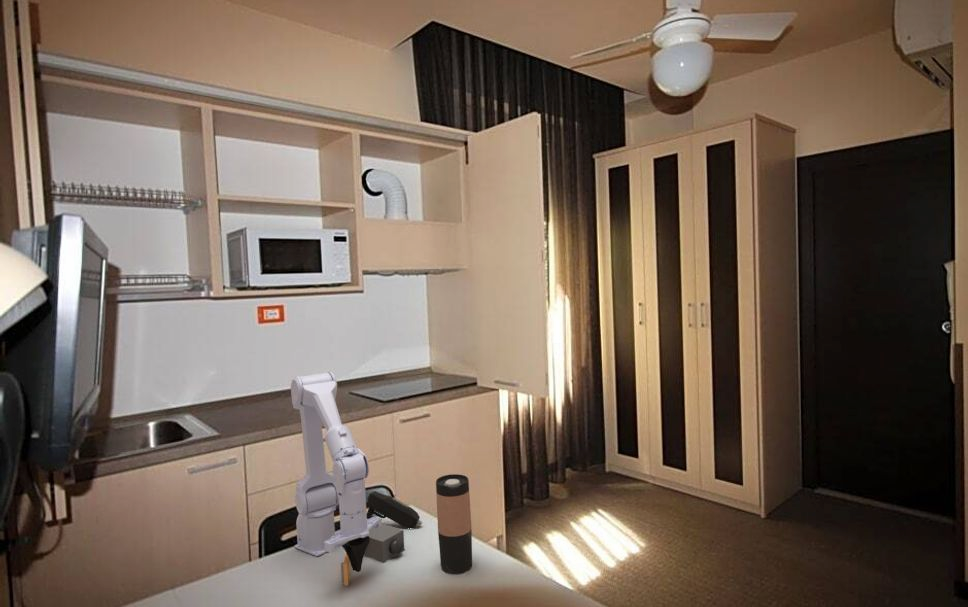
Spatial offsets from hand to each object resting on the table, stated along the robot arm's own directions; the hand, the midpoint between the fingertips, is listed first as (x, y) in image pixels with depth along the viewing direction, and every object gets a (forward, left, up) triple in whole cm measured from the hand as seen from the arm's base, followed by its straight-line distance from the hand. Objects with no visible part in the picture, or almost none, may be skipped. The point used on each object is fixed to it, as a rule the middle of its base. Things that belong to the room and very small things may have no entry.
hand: (356, 570), depth 119 cm
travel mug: (+15, +16, -3) cm, 22 cm away
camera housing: (-6, +12, -2) cm, 14 cm away
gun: (-13, +24, -3) cm, 27 cm away
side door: (-6, +3, -2) cm, 7 cm away
